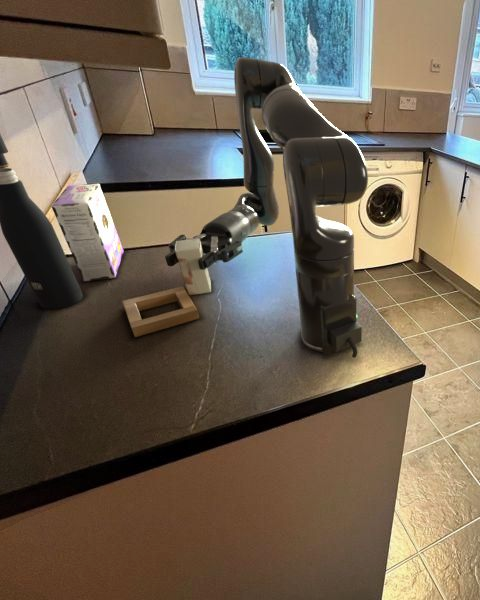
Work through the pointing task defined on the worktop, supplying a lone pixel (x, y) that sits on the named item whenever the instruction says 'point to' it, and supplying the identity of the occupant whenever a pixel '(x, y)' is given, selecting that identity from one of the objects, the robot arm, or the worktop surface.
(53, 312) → the worktop surface
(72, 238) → the candy box
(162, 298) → the frame
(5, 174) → the dark grey bottle
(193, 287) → the white tall rectangular block
